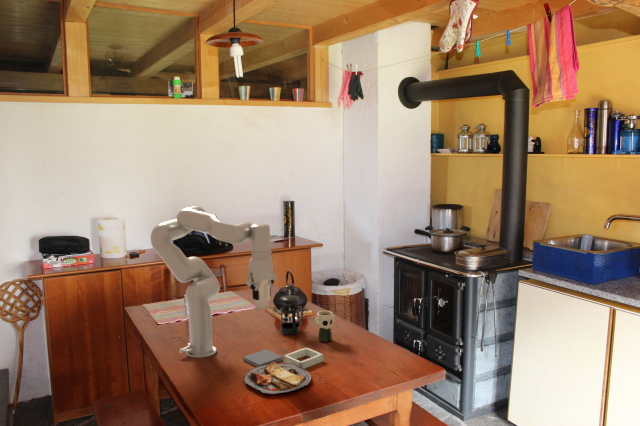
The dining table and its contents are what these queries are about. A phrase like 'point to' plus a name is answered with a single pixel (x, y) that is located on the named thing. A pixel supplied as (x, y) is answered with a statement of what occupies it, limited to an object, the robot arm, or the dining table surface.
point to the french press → (290, 321)
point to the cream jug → (263, 295)
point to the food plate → (277, 377)
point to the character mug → (325, 325)
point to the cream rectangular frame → (292, 357)
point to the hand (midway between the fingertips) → (261, 297)
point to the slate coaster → (262, 358)
